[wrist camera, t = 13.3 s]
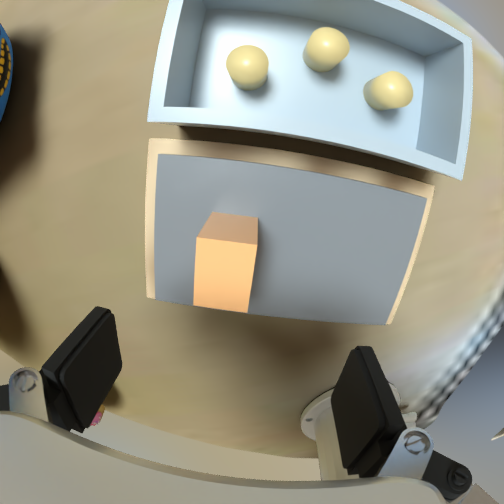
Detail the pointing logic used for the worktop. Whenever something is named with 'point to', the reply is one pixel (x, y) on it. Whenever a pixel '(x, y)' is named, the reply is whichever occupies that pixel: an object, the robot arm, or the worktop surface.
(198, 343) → the worktop surface
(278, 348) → the worktop surface
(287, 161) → the mat
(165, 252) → the lid
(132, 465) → the robot arm
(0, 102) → the ceramic pot
